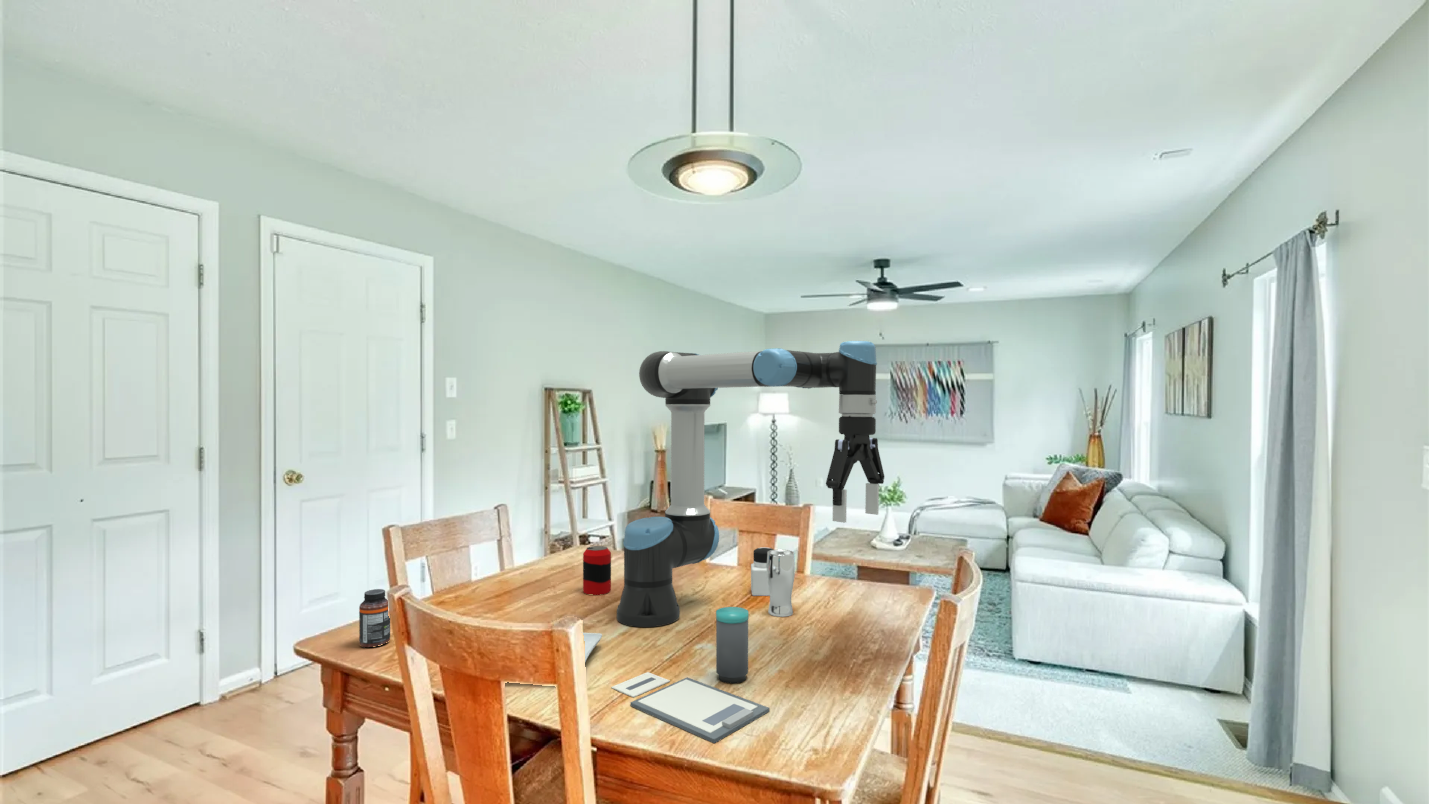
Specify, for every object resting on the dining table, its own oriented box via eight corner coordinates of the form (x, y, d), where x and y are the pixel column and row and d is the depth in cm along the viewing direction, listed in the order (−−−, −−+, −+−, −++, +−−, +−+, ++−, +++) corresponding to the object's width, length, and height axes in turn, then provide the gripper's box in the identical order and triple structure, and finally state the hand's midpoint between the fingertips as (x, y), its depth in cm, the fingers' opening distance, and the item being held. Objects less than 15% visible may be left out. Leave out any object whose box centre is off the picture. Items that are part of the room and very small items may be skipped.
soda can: (584, 588, 186) (584, 545, 186) (611, 587, 187) (611, 544, 187) (581, 596, 178) (581, 551, 178) (610, 595, 179) (610, 550, 179)
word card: (611, 688, 120) (611, 686, 120) (647, 673, 127) (647, 671, 127) (633, 697, 116) (633, 696, 116) (670, 681, 123) (670, 680, 123)
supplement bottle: (363, 640, 144) (363, 588, 144) (393, 638, 146) (393, 586, 146) (355, 650, 139) (355, 596, 139) (386, 647, 140) (387, 593, 140)
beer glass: (793, 618, 160) (793, 556, 160) (764, 616, 161) (764, 554, 161) (795, 609, 166) (795, 549, 166) (768, 607, 168) (768, 548, 168)
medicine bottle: (778, 596, 178) (778, 551, 178) (752, 596, 178) (752, 551, 178) (776, 588, 185) (776, 545, 186) (750, 588, 186) (750, 545, 186)
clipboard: (630, 705, 113) (630, 698, 113) (687, 680, 123) (687, 673, 123) (714, 743, 100) (714, 734, 100) (769, 711, 111) (769, 703, 111)
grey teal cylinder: (709, 678, 124) (709, 612, 124) (730, 668, 129) (730, 604, 129) (734, 687, 120) (734, 619, 120) (755, 677, 125) (755, 611, 125)
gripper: (842, 416, 126) (841, 527, 126) (900, 415, 145) (899, 512, 145) (809, 415, 131) (807, 522, 131) (869, 415, 150) (868, 509, 150)
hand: (856, 517), depth 138 cm, fingers open, 13 cm apart
